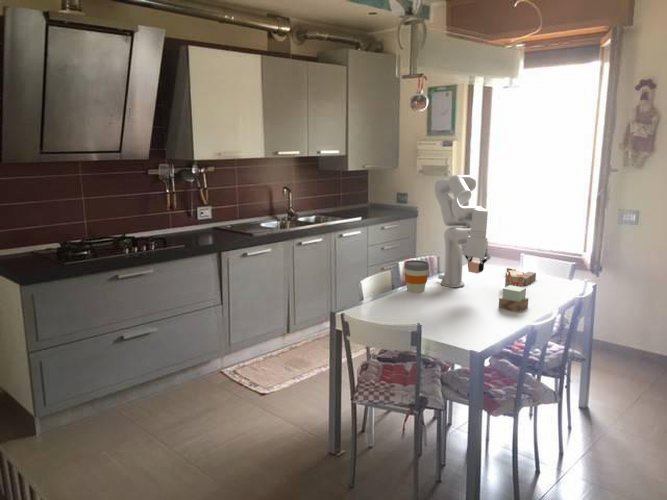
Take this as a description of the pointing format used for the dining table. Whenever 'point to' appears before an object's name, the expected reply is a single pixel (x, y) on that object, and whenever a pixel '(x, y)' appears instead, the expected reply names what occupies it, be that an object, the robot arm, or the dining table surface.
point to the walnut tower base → (513, 305)
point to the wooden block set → (526, 276)
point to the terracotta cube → (474, 266)
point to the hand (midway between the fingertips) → (475, 269)
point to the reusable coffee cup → (416, 275)
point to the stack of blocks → (514, 278)
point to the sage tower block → (514, 293)
